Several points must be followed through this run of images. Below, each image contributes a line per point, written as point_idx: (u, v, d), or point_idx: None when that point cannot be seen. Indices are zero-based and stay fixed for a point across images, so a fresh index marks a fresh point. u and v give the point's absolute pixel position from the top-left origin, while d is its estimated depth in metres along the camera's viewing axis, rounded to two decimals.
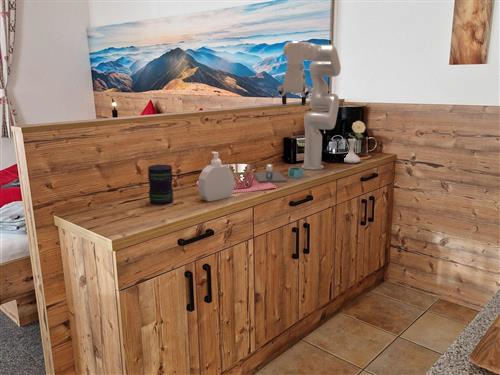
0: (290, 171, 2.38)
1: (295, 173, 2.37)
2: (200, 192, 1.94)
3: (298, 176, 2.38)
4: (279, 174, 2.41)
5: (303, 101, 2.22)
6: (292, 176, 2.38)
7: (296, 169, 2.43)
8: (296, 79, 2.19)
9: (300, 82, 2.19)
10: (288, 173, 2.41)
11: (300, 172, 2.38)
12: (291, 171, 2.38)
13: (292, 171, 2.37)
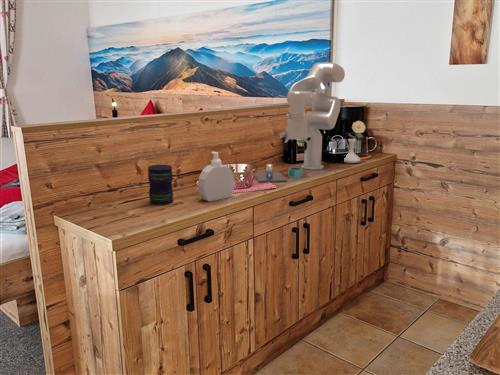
0: (290, 171, 2.38)
1: (295, 173, 2.37)
2: (200, 192, 1.94)
3: (298, 176, 2.38)
4: (279, 174, 2.41)
5: None
6: (292, 176, 2.38)
7: (296, 169, 2.43)
8: None
9: None
10: (288, 173, 2.41)
11: (300, 172, 2.38)
12: (291, 171, 2.38)
13: (292, 171, 2.37)
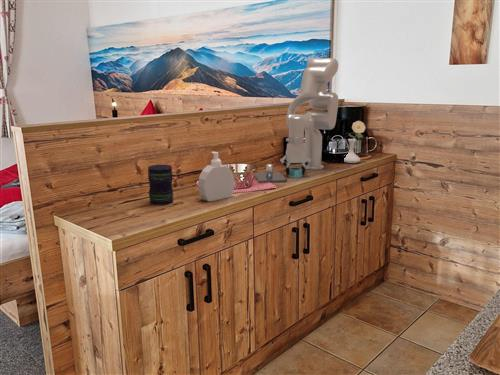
0: (290, 171, 2.38)
1: (295, 173, 2.37)
2: (200, 192, 1.94)
3: (298, 176, 2.38)
4: (279, 174, 2.41)
5: None
6: (292, 176, 2.38)
7: (296, 169, 2.43)
8: None
9: None
10: None
11: (300, 172, 2.38)
12: (291, 171, 2.38)
13: (292, 171, 2.37)
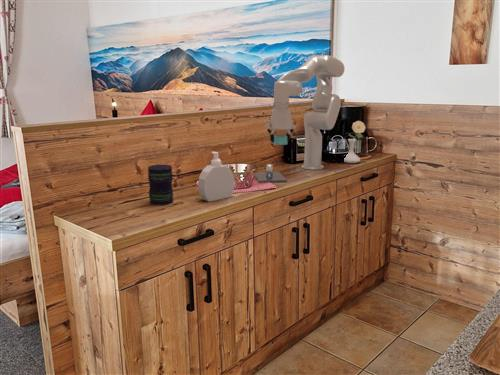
0: (275, 138, 2.31)
1: (280, 140, 2.30)
2: (200, 192, 1.94)
3: (283, 143, 2.31)
4: (279, 174, 2.41)
5: None
6: (277, 143, 2.31)
7: (281, 137, 2.36)
8: None
9: None
10: None
11: (285, 139, 2.31)
12: (276, 138, 2.31)
13: (277, 138, 2.30)
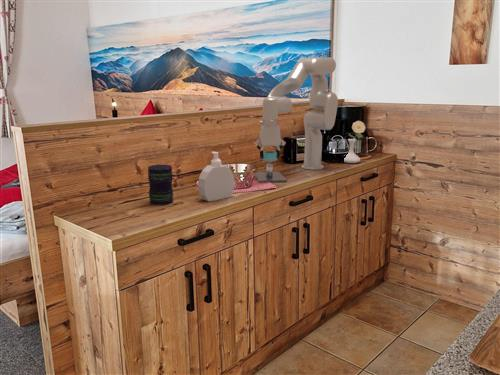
0: (264, 154, 2.32)
1: (269, 156, 2.31)
2: (200, 192, 1.94)
3: (272, 159, 2.31)
4: (279, 174, 2.41)
5: None
6: (266, 159, 2.32)
7: (271, 153, 2.37)
8: None
9: None
10: None
11: (274, 155, 2.32)
12: (265, 154, 2.31)
13: (266, 154, 2.31)
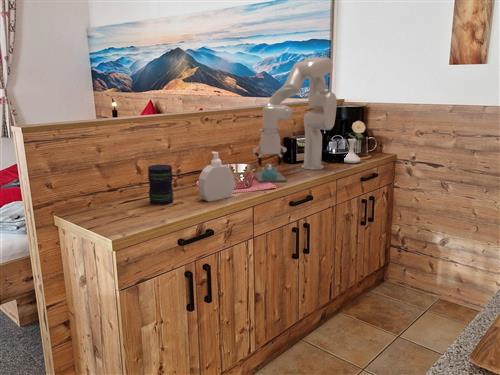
0: (264, 171, 2.34)
1: (269, 173, 2.33)
2: (200, 192, 1.94)
3: (272, 176, 2.33)
4: (279, 174, 2.41)
5: None
6: (266, 176, 2.34)
7: None
8: None
9: None
10: (262, 173, 2.37)
11: (274, 172, 2.34)
12: (265, 171, 2.33)
13: (266, 171, 2.33)
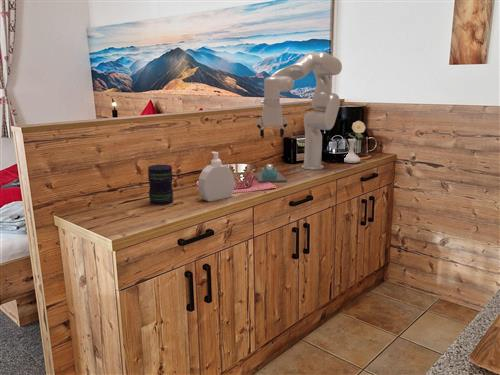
0: (264, 171, 2.34)
1: (269, 173, 2.33)
2: (200, 192, 1.94)
3: (272, 176, 2.33)
4: (279, 174, 2.41)
5: None
6: (266, 176, 2.34)
7: None
8: None
9: None
10: (262, 173, 2.37)
11: (274, 172, 2.34)
12: (265, 171, 2.33)
13: (266, 171, 2.33)
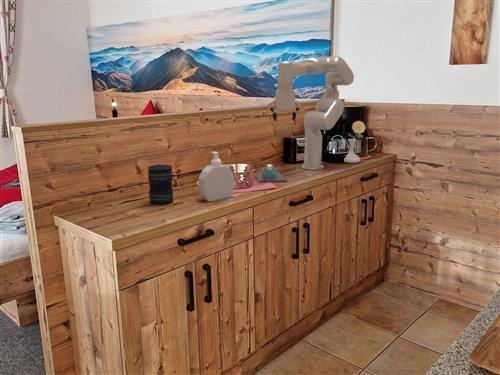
0: (264, 171, 2.34)
1: (269, 173, 2.33)
2: (200, 192, 1.94)
3: (272, 176, 2.33)
4: (279, 174, 2.41)
5: None
6: (266, 176, 2.34)
7: None
8: None
9: None
10: (262, 173, 2.37)
11: (274, 172, 2.34)
12: (265, 171, 2.33)
13: (266, 171, 2.33)
